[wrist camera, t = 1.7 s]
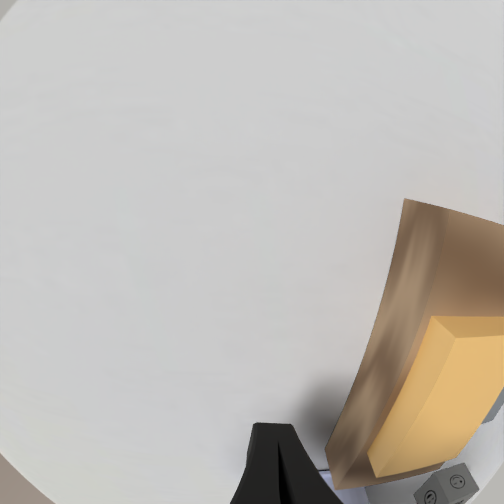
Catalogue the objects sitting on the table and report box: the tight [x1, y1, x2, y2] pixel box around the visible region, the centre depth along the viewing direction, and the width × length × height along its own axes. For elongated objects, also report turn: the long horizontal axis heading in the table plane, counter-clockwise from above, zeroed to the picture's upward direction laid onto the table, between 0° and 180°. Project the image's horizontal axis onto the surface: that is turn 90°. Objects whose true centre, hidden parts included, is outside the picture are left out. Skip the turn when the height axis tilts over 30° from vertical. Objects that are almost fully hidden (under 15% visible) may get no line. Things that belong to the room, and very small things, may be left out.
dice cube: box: [414, 463, 479, 504], centre depth 19 cm, size 5×5×5 cm
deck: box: [325, 198, 504, 490], centre depth 14 cm, size 18×9×4 cm, turn 173°
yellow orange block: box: [367, 316, 504, 478], centre depth 11 cm, size 9×6×2 cm, turn 173°
